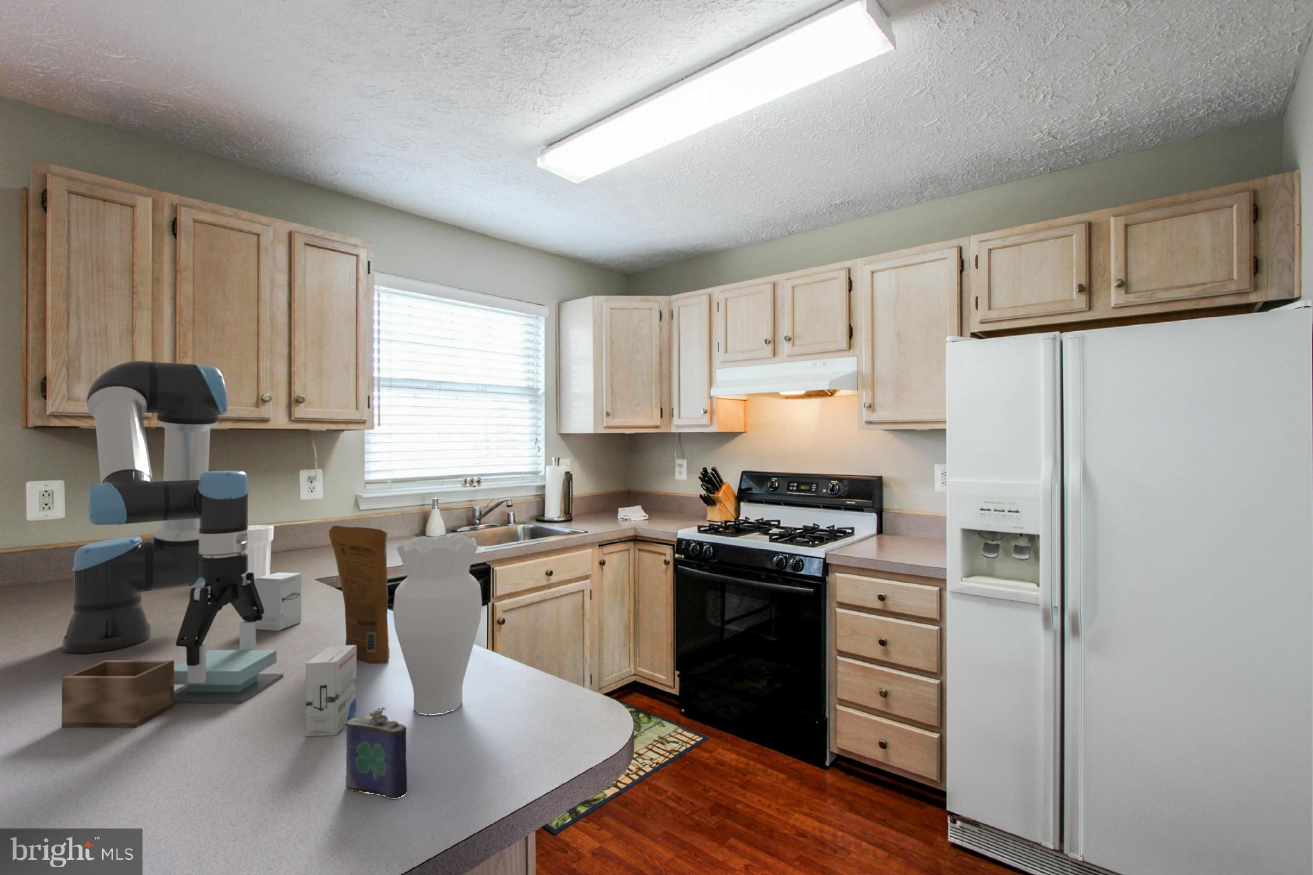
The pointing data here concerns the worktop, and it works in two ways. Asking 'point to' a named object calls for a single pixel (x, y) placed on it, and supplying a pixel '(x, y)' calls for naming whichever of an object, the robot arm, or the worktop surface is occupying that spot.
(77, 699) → the crate
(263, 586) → the supplement box
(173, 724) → the worktop surface
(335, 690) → the ink box
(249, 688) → the mat
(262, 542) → the cup
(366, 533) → the pancake mix bag
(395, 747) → the flask
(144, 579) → the robot arm
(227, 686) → the lid
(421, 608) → the vase
